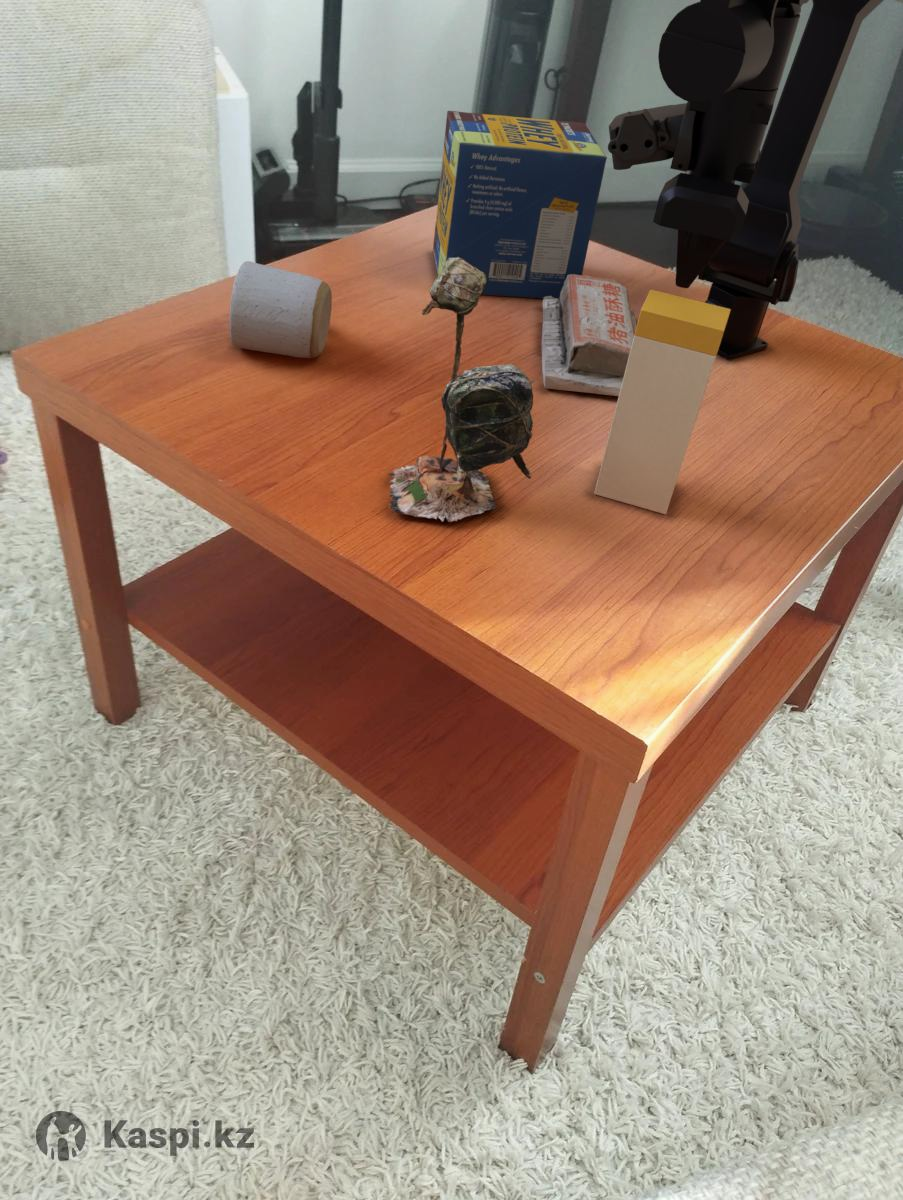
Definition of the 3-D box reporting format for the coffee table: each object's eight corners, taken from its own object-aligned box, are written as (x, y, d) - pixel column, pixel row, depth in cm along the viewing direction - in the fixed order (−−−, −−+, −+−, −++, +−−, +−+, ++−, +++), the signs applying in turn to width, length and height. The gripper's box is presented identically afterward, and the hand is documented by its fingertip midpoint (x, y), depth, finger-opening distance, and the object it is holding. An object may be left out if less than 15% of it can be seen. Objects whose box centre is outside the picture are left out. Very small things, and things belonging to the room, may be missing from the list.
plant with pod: (524, 540, 75) (576, 287, 62) (375, 517, 75) (397, 260, 62) (528, 480, 81) (576, 239, 68) (391, 459, 81) (413, 214, 68)
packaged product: (548, 264, 103) (642, 277, 103) (539, 308, 106) (631, 321, 107) (550, 343, 89) (659, 358, 90) (541, 391, 93) (646, 405, 93)
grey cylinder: (318, 374, 90) (320, 293, 85) (228, 361, 90) (226, 279, 85) (338, 325, 98) (341, 248, 93) (255, 313, 98) (255, 236, 93)
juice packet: (604, 469, 84) (650, 288, 73) (673, 489, 83) (731, 308, 72) (593, 494, 81) (640, 309, 70) (665, 515, 80) (724, 330, 69)
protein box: (430, 253, 114) (445, 109, 104) (560, 262, 116) (587, 122, 106) (439, 293, 106) (456, 141, 96) (579, 302, 109) (610, 154, 99)
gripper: (649, 37, 81) (607, 229, 91) (609, 84, 67) (564, 305, 77) (786, 64, 79) (728, 256, 89) (775, 118, 65) (707, 339, 75)
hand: (682, 285), depth 82 cm, fingers closed
